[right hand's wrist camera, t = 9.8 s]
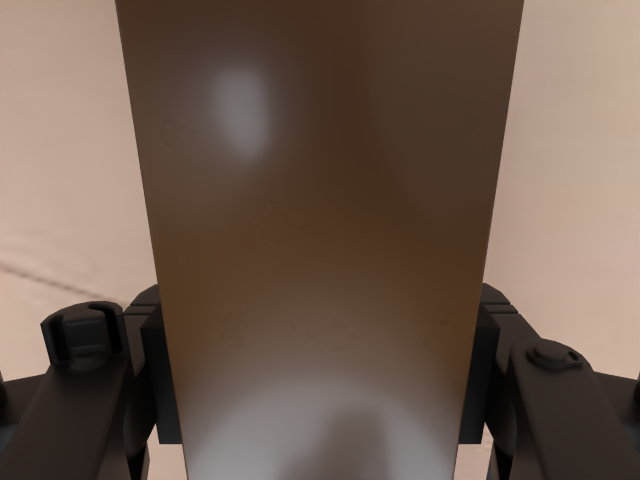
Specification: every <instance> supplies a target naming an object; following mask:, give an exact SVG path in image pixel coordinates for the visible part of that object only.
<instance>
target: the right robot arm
mask: <svg viewBox="0 0 640 480" xmlns="http://www.w3.org/2000/svg"><path fill="white" fill-rule="evenodd" d="M40 325H41V329H42V333H43V337H44V341H45V344H46V348H47V352H48V356H49V360H50V363H51V364H50V366H49V368H48V370H47V372H46V374H42V375H37V376H32V377H27V378H21V379H16V380H11V381H6V382H4V381H3V378H2V375H1V372H0V480H147V477H148V470H149V463H150V458H149V450H148V445H147V440H148V438H149V436H150V434H151V432H152V430H153V427H154V425H155V423H156V427H157V433H158V439H159V444H182V440H181V434H180V427H179V420H178V414H177V407H176V401H175V394H174V387H173V381H172V374H171V368H170V361H169V354H168V348H167V341H166V335H165V328H164V321H163V315H162V308H161V302H160V295H159V288H158V284H155V285H153V286H152V287H150V288H148V289H146V290H145V291H143V292H141V293H140V294H139V295H138V296H137V297H136V298H135V299H134V300H133V302H132V303H131V304H130V306H128V307H127V309H126V310H125V311H124V312H123V309H122V307H121V306H119V305H118V304H117V303H113V302H108V301H90V302H85V303H80V304H75V305H72V306H69V307H66V308H63V309H61V310H59V311H57V312H55V313H53V314H51V315H50V316H48V317H47V318H46V319H45V320H44V321H43V322H42V323H41V324H40ZM484 423H486V425H487V427H488V429H489V431H490V433H491V435H492V437H493V439H494V440H493V445H492V450H491V456H490V461H489V467H488V472H487V478H486V480H640V373H639V376H638V379H637V380H634V379H629V378H624V377H619V376H614V375H608V374H603V373H599V372H595V371H593V369H592V367H591V365H590V364H589V362H588V361H587V360H586V359H585V358H584V357H583V356H582V355H581V354H580V353H578V352H577V351H575V350H574V349H572V348H571V347H568V346H566V345H563V344H561V343H558V342H556V341H552V340H547V339H543V338H541V337H540V336H539V335H538V334H537V333H536V332H535V330H534V329H533V328H532V327H531V326H530V325H529V324H528V322H527V321H526V320H525V319H524V318H523V317H522V315H521V314H518V311H517V310H516V309H515V307H514V306H513V305H510V302H509V301H508V299H507V298H506V297H505V296H504V295H503V294H502V292H500V291H498V290H497V289H495V288H493V287H491V286H490V285H488V284H486V283H482V288H481V295H480V302H479V309H478V315H477V322H476V329H475V336H474V342H473V349H472V356H471V363H470V369H469V376H468V383H467V390H466V396H465V403H464V410H463V417H462V424H461V430H460V437H459V444H481V440H482V435H483V429H484Z"/></svg>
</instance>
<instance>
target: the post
mask: <svg viewBox="0 0 640 480" xmlns="http://www.w3.org/2000/svg"><path fill="white" fill-rule="evenodd" d="M115 4H116V11H117V17H118V24H119V31H120V37H121V44H122V50H123V57H124V64H125V70H126V77H127V83H128V90H129V97H130V103H131V110H132V116H133V123H134V130H135V136H136V143H137V150H138V156H139V163H140V169H141V176H142V183H143V189H144V196H145V202H146V209H147V216H148V222H149V229H150V235H151V242H152V249H153V255H154V262H155V268H156V275H157V282H158V288H159V295H160V302H161V308H162V315H163V321H164V328H165V335H166V341H167V348H168V354H169V361H170V368H171V374H172V381H173V387H174V394H175V401H176V407H177V414H178V420H179V427H180V434H181V440H182V447H183V453H184V460H185V467H186V473H187V480H453V478H454V471H455V464H456V457H457V451H458V444H459V437H460V430H461V424H462V417H463V410H464V403H465V396H466V390H467V383H468V376H469V369H470V363H471V356H472V349H473V342H474V336H475V329H476V322H477V315H478V309H479V302H480V295H481V288H482V282H483V275H484V268H485V261H486V255H487V248H488V241H489V234H490V227H491V221H492V214H493V207H494V200H495V194H496V187H497V180H498V173H499V167H500V160H501V153H502V146H503V140H504V133H505V126H506V119H507V113H508V106H509V99H510V92H511V85H512V79H513V72H514V65H515V58H516V52H517V45H518V38H519V31H520V25H521V18H522V11H523V4H524V0H115Z"/></svg>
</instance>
